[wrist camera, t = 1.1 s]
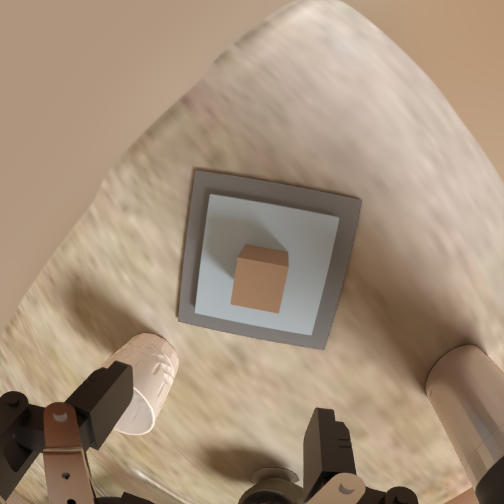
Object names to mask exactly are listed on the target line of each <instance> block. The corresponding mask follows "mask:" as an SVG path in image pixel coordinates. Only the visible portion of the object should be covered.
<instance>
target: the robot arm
mask: <svg viewBox="0 0 504 504" xmlns="http://www.w3.org/2000/svg"><path fill="white" fill-rule="evenodd" d="M425 388H426V394H427V396H428V398H429V400H430V402H431V404H432V406H433V408H434V409H435V411H436V413H437V415H438V417H439V419H440V421H441V423H442V425H443V427H444V429H445V431H446V433H447V435H448V437H449V439H450V441H451V443H452V445H453V447H454V449H455V451H456V453H457V455H458V457H459V459H460V461H461V463H462V465H463V467H464V469H465V472H466V474H467V476H468V478H469V480H470V482H471V485H472V487H473V489H474V491H475V493H476V496H477V498H478V501H479V504H504V373H503V371H502V370H501V369H500V368H499V367H498V366H497V365H496V364H495V363H494V362H493V361H492V360H491V358H490V357H488V356H486V355H485V354H484V353H483V352H482V351H481V350H480V349H479V348H478V347H476V346H474V345H463V346H460V347H457V348H455V349H453V350H451V351H449V352H448V353H447V354H445V355H444V356H443V357H442V358H441V359H440V360H439V361H438V362H437V363H436V364H435V365H434V367H433V368H432V370H431V371H430V373H429V375H428V378H427V380H426V386H425ZM133 393H134V389H133V368H132V366H131V365H129V364H126V363H123V362H120V361H117V360H116V361H114V362H113V363H112V364H111V365H110V366H109V367H108V369H107V368H104V367H102V368H100V369H98V370H95V371H94V372H93V373H92V374H91V375H90V376H89V377H88V378H87V379H86V380H85V381H84V382H83V384H81V385H80V386H79V387H78V388H77V389H76V390H75V391H74V392H73V394H72V395H71V396H70V397H69V398H68V399H67V400H66V401H65V402H55V403H52V404H50V405H48V406H47V407H46V408H45V407H40V406H36V405H32V404H29V402H28V399H27V397H26V396H25V395H24V394H22V393H20V392H17V391H10V392H7V393H5V394H3V395H2V396H1V397H0V504H6V500H7V499H8V497H9V496H10V494H11V493H12V491H13V490H14V489H15V487H16V486H17V484H18V483H19V481H20V480H21V479H22V477H23V476H24V474H25V473H26V471H27V470H28V469H29V467H30V466H31V464H32V463H33V462H34V460H35V459H36V458H37V456H38V455H39V453H43V460H44V469H45V477H46V484H47V491H48V497H49V503H50V504H154V503H152V502H151V501H148V500H145V499H143V498H140V497H137V496H134V495H132V494H129V493H126V492H124V493H123V495H122V497H121V498H120V497H98V495H97V492H96V489H95V486H94V482H93V478H92V474H91V470H90V466H89V462H88V458H87V453H86V451H87V450H88V448H89V447H92V448H94V449H96V450H99V448H100V447H101V445H102V444H103V443H104V441H105V440H106V438H107V437H108V435H109V434H110V432H111V431H112V429H113V428H114V426H115V425H116V424H117V422H118V421H119V419H120V418H121V416H122V415H123V413H124V412H125V410H126V409H127V408H128V406H129V405H130V403H131V401H132V398H133ZM350 440H351V439H350V433H349V430H348V428H347V427H346V426H345V424H344V423H343V422H338V421H335V415H334V410H333V409H324V408H315V410H314V412H313V415H312V418H311V420H310V423H309V425H308V428H307V430H306V433H305V437H304V443H303V455H304V478H303V503H306V504H418V499H417V496H416V494H415V493H414V492H413V491H412V490H410V489H408V488H406V487H401V486H398V487H393V488H391V489H390V490H388V491H387V493H386V492H382V491H378V490H374V489H371V488H368V487H366V486H365V484H364V482H363V480H362V479H361V478H360V477H358V476H357V475H356V469H355V463H354V457H353V451H352V445H351V441H350Z"/></svg>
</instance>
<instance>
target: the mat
mask: <svg viewBox="0 0 504 504" xmlns="http://www.w3.org/2000/svg"><path fill="white" fill-rule="evenodd" d="M210 194H217V195H224V196H230V197H236V198H242V199H248V200H253V201H259V202H265V203H270V204H276V205H281V206H287V207H292V208H297V209H302V210H308V211H313V212H318V213H323V214H328V215H333V216H337V217H339V223H338V228H337V232H336V237H335V242H334V246H333V251H332V255H331V260H330V264H329V268H328V272H327V277H326V281H325V285H324V289H323V293H322V297H321V301H320V305H319V309H318V312H317V316H316V320H315V324H314V327H313V331H312V335H305V334H299V333H293V332H288V331H282V330H276V329H271V328H265V327H260V326H255V325H250V324H245V323H240V322H235V321H230V320H225V319H220V318H216V317H211V316H206V315H202V314H197V313H195V306H196V297H197V288H198V280H199V271H200V263H201V255H202V247H203V240H204V232H205V225H206V218H207V211H208V204H209V197H210ZM361 203H362V200H359V199H355V198H350V197H346V196H341V195H337V194H332V193H327V192H322V191H317V190H312V189H307V188H302V187H297V186H291V185H286V184H281V183H275V182H269V181H264V180H258V179H252V178H246V177H239V176H233V175H227V174H220V173H213V172H206V171H199V170H195V177H194V183H193V190H192V197H191V205H190V212H189V220H188V227H187V236H186V244H185V253H184V262H183V271H182V281H181V291H180V302H179V314H178V322H182V323H186V324H191V325H195V326H199V327H204V328H208V329H213V330H217V331H222V332H227V333H231V334H236V335H241V336H246V337H251V338H256V339H262V340H267V341H273V342H278V343H284V344H290V345H296V346H302V347H308V348H314V349H321V350H324V349H325V346H326V343H327V339H328V336H329V333H330V329H331V326H332V322H333V319H334V315H335V312H336V308H337V305H338V301H339V297H340V293H341V290H342V286H343V282H344V278H345V274H346V270H347V266H348V262H349V258H350V253H351V249H352V245H353V240H354V236H355V231H356V227H357V222H358V217H359V213H360V208H361Z"/></svg>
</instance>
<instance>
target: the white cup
mask: <svg viewBox="0 0 504 504" xmlns="http://www.w3.org/2000/svg"><path fill="white" fill-rule="evenodd" d="M116 360H117V361H120V362H123V363H126V364H129V365H131V366H132V368H133V389H134V393H133V398H132V401H131V403H130V405H129V406H128V408H127V409H126V410H125V412H124V413H123V415H122V416H121V418H120V419H119V421H118V422H117V424H116V425H115V426H114V428H113V429H115V430H117V431H119V432H122V433H125V434H130V435H142V434H145V433H147V432H149V431H150V430H151V429H152V428H153V426H154V424H155V422H156V419H157V417H158V415H159V413H160V411H161V408H162V406H163V404H164V402H165V400H166V398H167V395H168V393H169V390H170V388H171V385H172V383H173V379H174V377H175V375H176V373H177V370H178V364H179V360H178V357H177V354H176V352H175V350H174V349H173V347H172V346H171V345H170V344H169V343H168V342H167V341H166V340H165V339H163V338H161V337H159V336H157V335H155V334H149V333H141V334H139V335H136V336H134V337H132V338H131V339H130V340H129V341H128V342H127V343H126V344H125V345H124V346H122V347H121V348H120V349H118V350H117V351H116V352H115V353H114V354H113V355H112V356H110V357H109V358H108V359H107V360H106V361H105V362H104V363H103V364H102V365H101V366H100V367H99V368H98V369H100V368H102V367H104V368H107V369H108V367H109V366H110V365H111V364H112V363H113V362H114V361H116ZM98 369H97V370H98Z"/></svg>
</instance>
